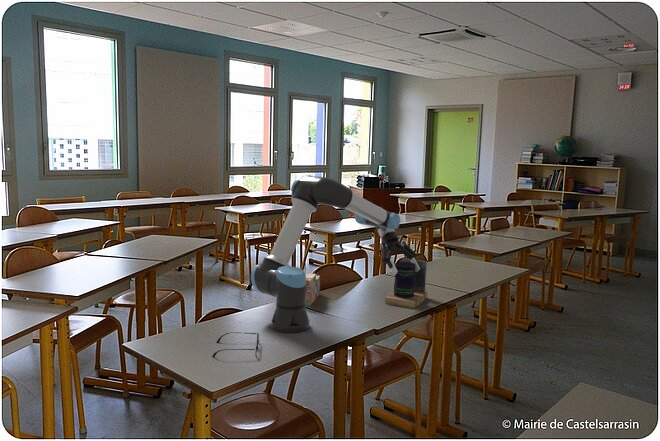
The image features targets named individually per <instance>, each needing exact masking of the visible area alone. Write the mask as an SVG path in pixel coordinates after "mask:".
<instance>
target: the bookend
mask: <svg viewBox="0 0 660 441" xmlns="http://www.w3.org/2000/svg"><path fill="white" fill-rule="evenodd" d="M410 260H411V259H409V258H402V261H401V262H410ZM416 260H417V259H416ZM417 262H418V266H419V268H420V270H419V271H418V272H416V273H415V279H414V284H415V291H419V292H427V290H426V287H427V286H426V285H427V268H428V266H427V265H428V261H426V260H417ZM410 263H411V262H410Z"/></svg>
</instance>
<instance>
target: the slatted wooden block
mask: <svg viewBox="0 0 660 441" xmlns="http://www.w3.org/2000/svg"><path fill="white" fill-rule="evenodd" d="M384 298H385V304H386V305H391V306H395V307H396V306H397V307H403V308H408V309H416V308H417V307H418V306H420V305H421V304H422V303H423V302H424V301H425V300H427V299H428V291H425V292H419V291H414V297H412V298H400V297H396V296H394V291H393V292H392V293H390V294H389V295H386V296H385V297H384Z"/></svg>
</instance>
